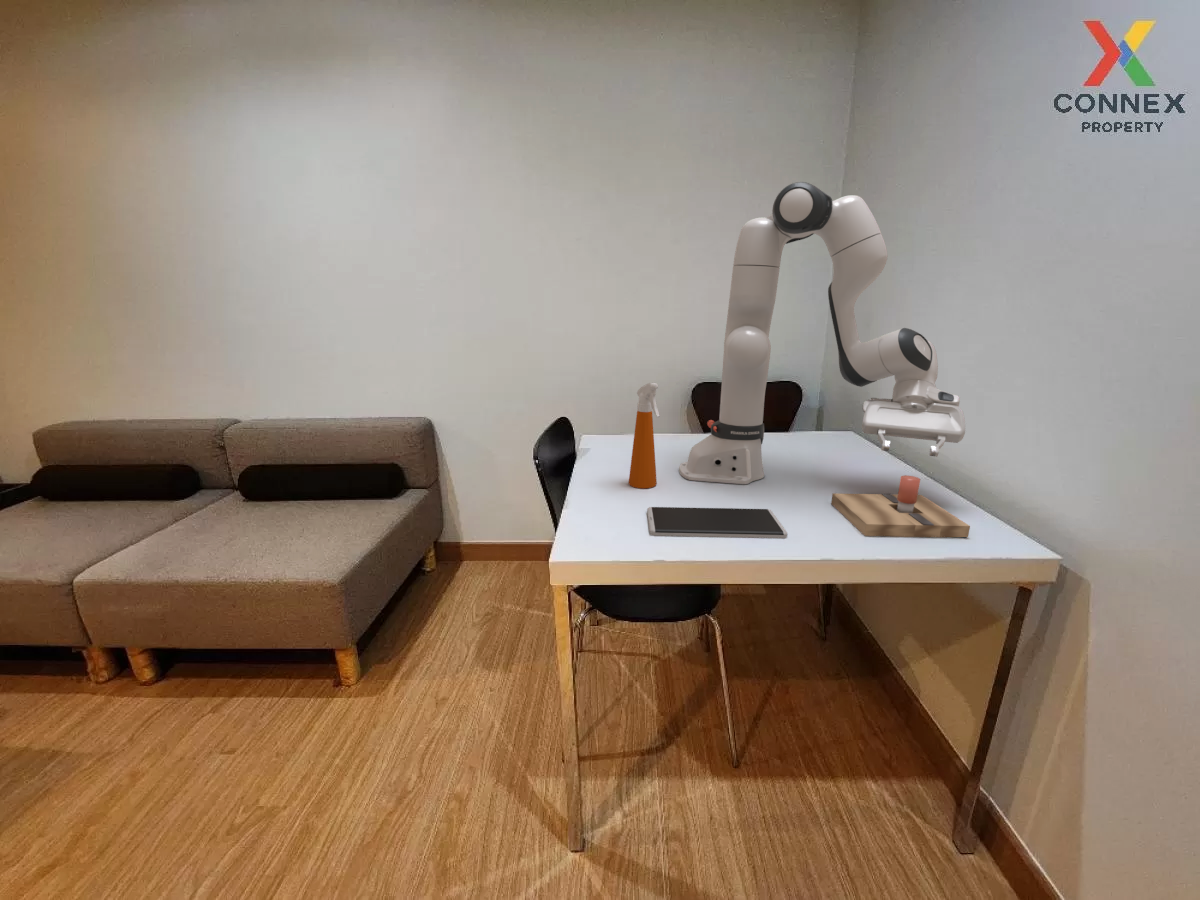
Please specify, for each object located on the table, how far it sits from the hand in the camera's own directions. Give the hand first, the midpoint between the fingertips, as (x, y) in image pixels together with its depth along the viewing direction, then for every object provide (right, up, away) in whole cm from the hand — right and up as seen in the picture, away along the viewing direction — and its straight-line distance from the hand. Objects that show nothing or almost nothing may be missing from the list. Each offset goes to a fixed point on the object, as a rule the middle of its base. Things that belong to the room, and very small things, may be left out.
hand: (909, 452), depth 121 cm
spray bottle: (-56, -9, +16) cm, 60 cm away
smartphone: (-44, -16, -6) cm, 47 cm away
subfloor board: (-5, -14, -3) cm, 16 cm away
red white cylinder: (-3, -14, -4) cm, 15 cm away
